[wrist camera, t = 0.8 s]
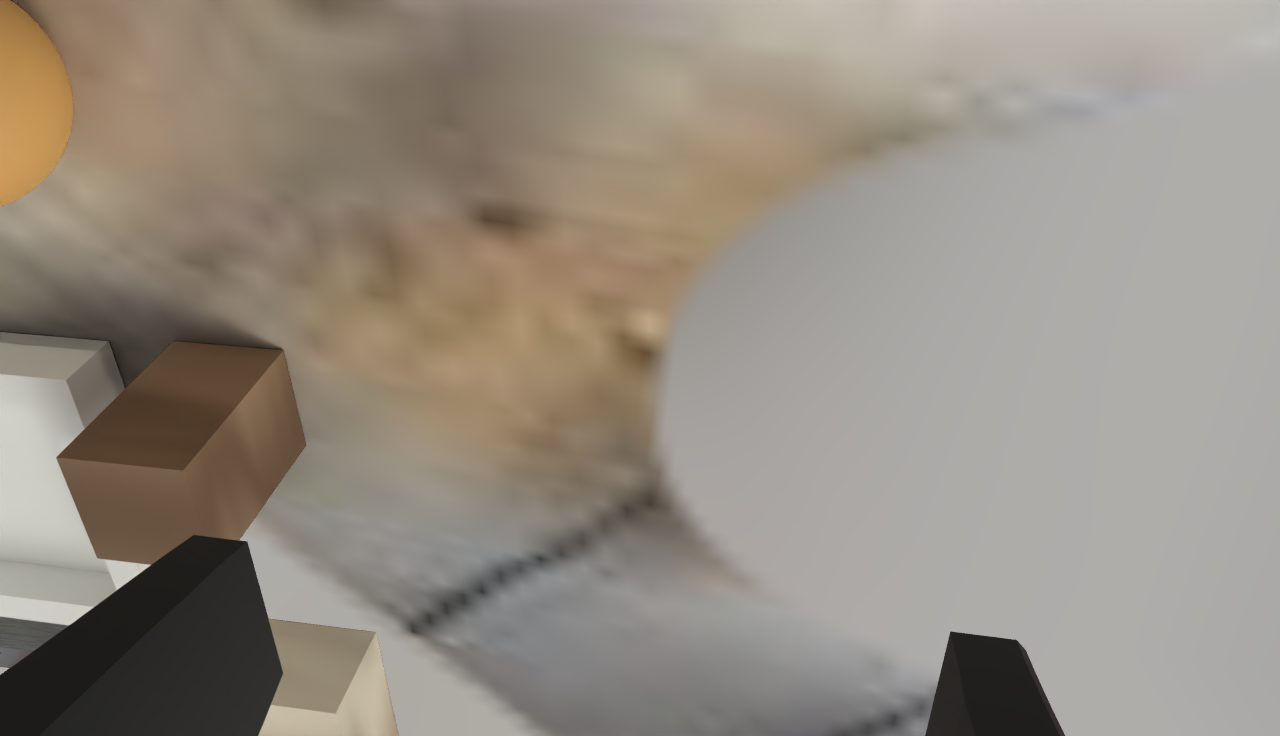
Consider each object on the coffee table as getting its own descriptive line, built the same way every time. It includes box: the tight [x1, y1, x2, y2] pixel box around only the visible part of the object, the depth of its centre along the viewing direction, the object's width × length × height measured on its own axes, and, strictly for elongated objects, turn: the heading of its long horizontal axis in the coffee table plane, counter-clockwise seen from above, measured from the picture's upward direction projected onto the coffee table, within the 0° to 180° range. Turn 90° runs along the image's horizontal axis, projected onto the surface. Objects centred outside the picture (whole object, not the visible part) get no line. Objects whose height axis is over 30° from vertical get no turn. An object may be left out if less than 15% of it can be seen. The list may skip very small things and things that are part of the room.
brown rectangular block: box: [56, 341, 306, 565], centre depth 21 cm, size 2×2×4 cm
